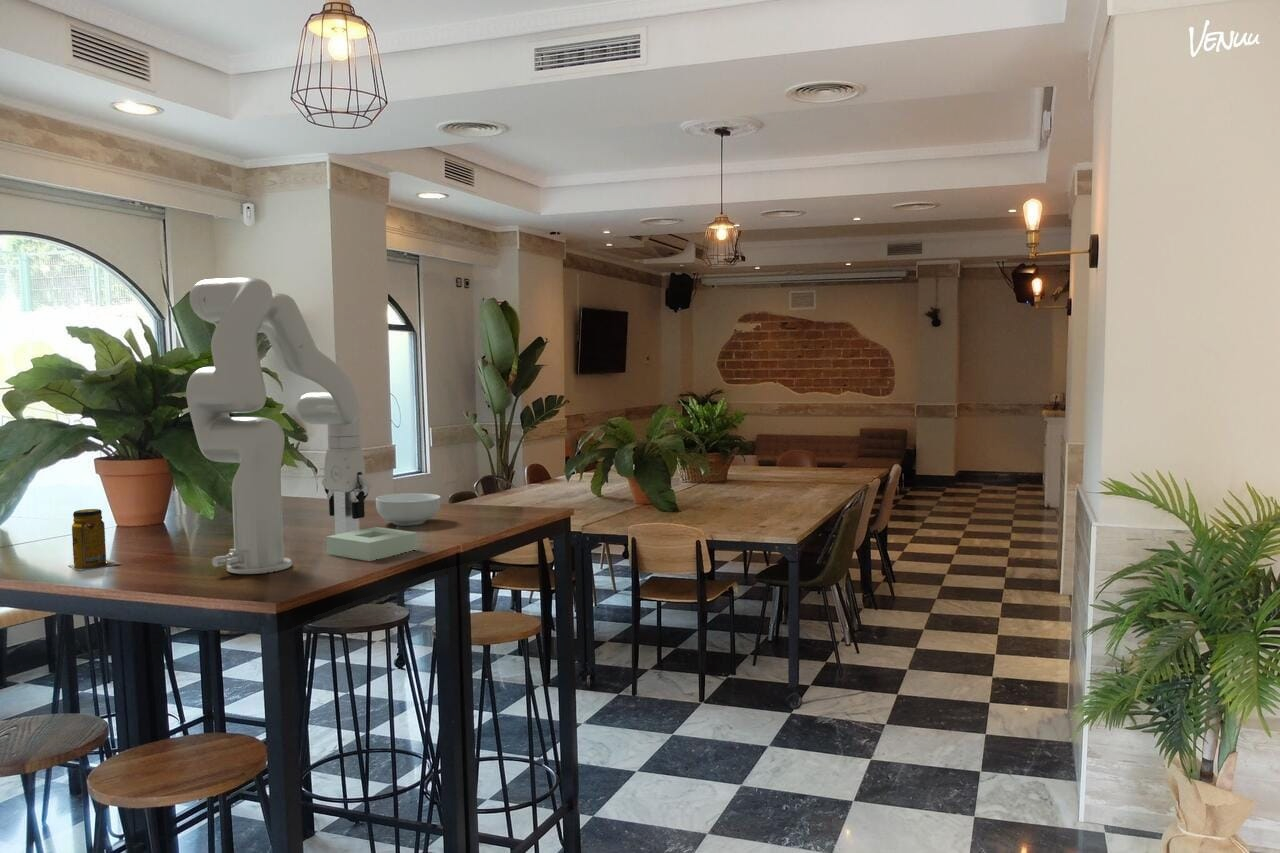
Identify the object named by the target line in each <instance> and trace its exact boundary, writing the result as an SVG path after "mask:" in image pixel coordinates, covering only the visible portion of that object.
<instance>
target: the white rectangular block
mask: <svg viewBox="0 0 1280 853" xmlns="http://www.w3.org/2000/svg"><path fill="white" fill-rule="evenodd" d="M356 488H357V487H356ZM356 488H355V489H356ZM356 494H357V495H358V494H359V493H358V492H356ZM352 502H354V500H353V498H352V495H351V493H350V492H340V491H334V514H335V516H334V535H337V534H342V533H347V532H352V531H357V530H361V528H360V518H358V519H353V518H352Z"/></svg>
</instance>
